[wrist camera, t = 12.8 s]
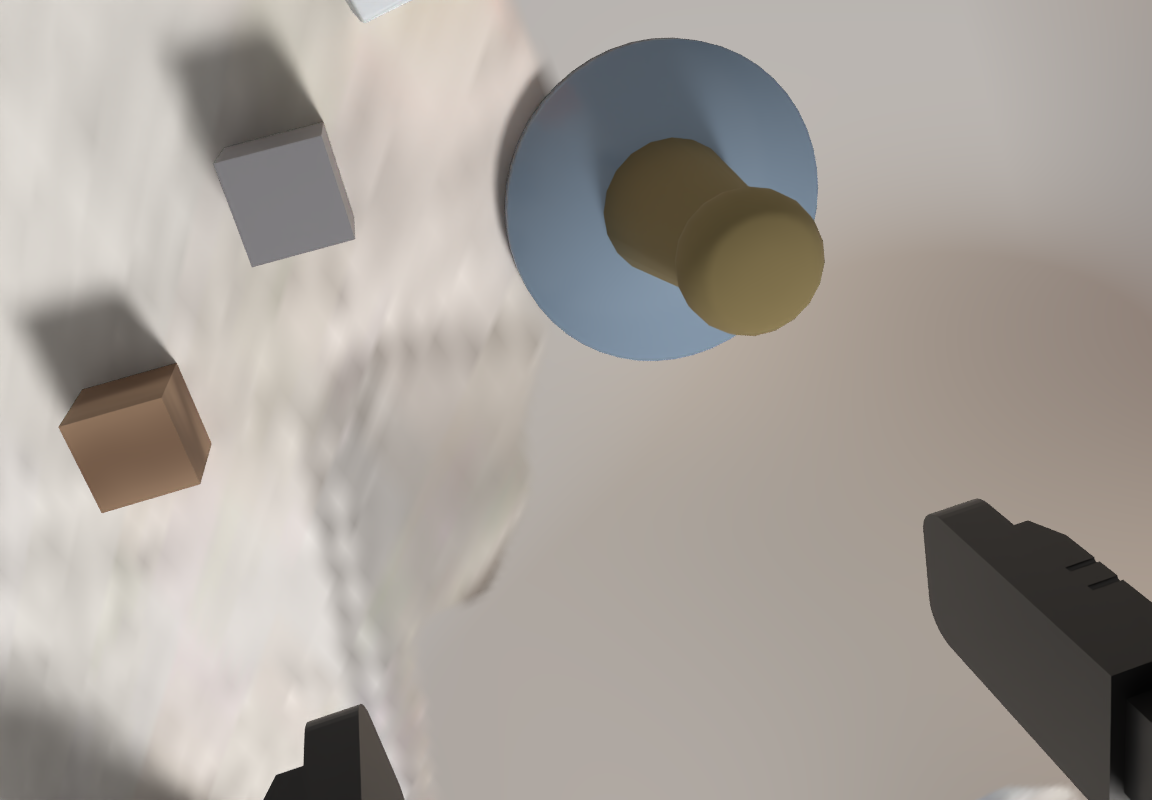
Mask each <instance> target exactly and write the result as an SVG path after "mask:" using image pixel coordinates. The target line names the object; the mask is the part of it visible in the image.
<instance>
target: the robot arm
mask: <svg viewBox="0 0 1152 800" xmlns="http://www.w3.org/2000/svg"><path fill="white" fill-rule="evenodd" d="M923 532H924V543H925V554H926V566H927V577H928V588H929V599H930V606H931V610H932V613H933V616H934V619H935V621H936V624H937V626H938V628H939V630H940V632H941V634H942V636H943V637H944V639H945V640H946V642H947V643H948V644H949V646H950V647H951V648H952V649H953V650H954V651H955V652H956V653H957V655H958V656H959V657H960V658H961V659H962V660H963V661H964V662H965V664H966V665H967V666H968V667H969V668H970V669H971V670H972V671H973V672H974V674H975V675H976V676H977V677H978V678H979V679H980V680H981V681H982V682H983V684H984V685H985V686H986V687H987V688H988V689H989V690H990V691H991V692H992V693H993V695H994V696H995V697H996V698H997V699H998V700H999V701H1000V702H1001V703H1002V705H1003V706H1004V707H1005V708H1006V709H1007V710H1008V711H1009V712H1010V714H1011V715H1012V716H1013V717H1014V718H1015V719H1016V720H1017V721H1018V722H1019V724H1020V725H1021V726H1022V727H1023V728H1024V729H1025V730H1026V731H1027V732H1028V734H1029V735H1030V736H1031V737H1032V738H1033V739H1034V740H1035V741H1036V742H1037V743H1038V745H1039V746H1040V747H1041V748H1042V749H1043V750H1044V751H1045V752H1046V754H1047V755H1048V756H1049V757H1050V758H1051V759H1052V760H1053V761H1054V762H1055V764H1056V765H1057V766H1058V767H1059V768H1060V769H1061V770H1062V771H1063V772H1064V773H1065V774H1066V776H1067V777H1068V778H1069V779H1070V780H1071V781H1072V782H1073V784H1074V785H1075V786H1076V787H1077V788H1078V789H1079V790H1080V791H1081V792H1082V794H1083V795H1084V796H1085V797H1086V798H1087V799H1088V800H1152V602H1151V601H1149V600H1148V599H1147V598H1145V597H1144V596H1143V595H1142V594H1140V593H1139V592H1138V591H1137V590H1135V589H1134V588H1133V587H1131V586H1130V585H1129V584H1128V583H1126V582H1125V581H1124V580H1122V581H1120V580H1119V579H1118V577H1117V575H1116V574H1115V573H1114V572H1112V571H1111V570H1110V569H1108V568H1107V567H1106V566H1105V565H1103V564H1102V563H1101V562H1096V561H1095V559H1094V557H1093V556H1092V555H1090V554H1089V553H1088V552H1087V551H1086V550H1084V549H1083V548H1082V547H1080V546H1079V545H1078V544H1076V543H1075V542H1074V541H1073V540H1072V539H1070V538H1069V537H1068V536H1066V535H1064V534H1061V533H1059V532H1056V531H1054V530H1051V529H1049V528H1046V527H1043V526H1041V525H1038V524H1036V523H1033V522H1030V521H1025V522H1022V523H1019V524H1016V525H1013V524H1012V523H1011V522H1010V521H1008V520H1007V519H1006V518H1005V517H1004V516H1002V515H1001V514H1000V513H999V512H997V511H996V510H995V509H994V508H992V506H990V505H989V504H988V503H986V502H985V501H983V500H981V499H974V500H971V501H967V502H965V503H962V504H959V505H956V506H953V507H950V508H947V509H944V510H941V511H938V512H935V513H932V514H929V515H927V516H926V518H925V519H924V525H923ZM264 800H404V797H403V794H402V791H401V788H400V785H399V783H398V780H397V778H396V776H395V773H394V771H393V769H392V766H391V764H390V762H389V759H388V757H387V755H386V752H385V750H384V748H383V746H382V743H381V741H380V739H379V736H378V734H377V732H376V729H375V727H374V725H373V722H372V720H371V718H370V716H369V713H368V711H367V710H366V708H365V707H364V705H362V704H360V705H357V706H354V707H351V708H348V709H345V710H342V711H339V712H336V713H333V714H330V715H327V716H324V717H321V718H318V719H315V720H312V721H309V722H307V724H306V727H305V739H304V766H302V767H299V768H296V769H293V770H290V771H287V772H284V773H281V774H278V775H276V776H275V778H274V780H273V782H272V784H271V786H270V788H269V790H268V792H267V794H266V796H265V798H264Z"/></svg>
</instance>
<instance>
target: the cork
mask: <svg viewBox="0 0 1152 800" xmlns="http://www.w3.org/2000/svg"><path fill="white" fill-rule="evenodd" d="M604 219H605V225H606V230H607V235H608V237H609V239H610V241H611V242H612V244H613V246H614V248H615V250H616V252H617V253H618V254H619V255H620V256H621V257H622V258H623V259H624V260H626V261H627V262H628V263H629V264H630V265H631V266H632V267H634V268H637V269H639V270H641V271H643V272H646V273H648V274H650V275H652V276H655V277H657V278H659V279H661V280H664V281H666V282H668V283H670V284H673V285H675V286H677V287H679V289H680V291H681V293H682V295H683V297H684V299H685V301H686V302H687V304H688V306H689V307H690V308H691V309H692V310H693V311H694V312H695V313H696V314H697V315H698V316H699V317H700V318H701V319H702V320H703V321H704V322H706V323H707V324H708V325H709V326H711V327H714V328H716V329H719V330H721V331H723V332H726V333H729V334H733V335H747V336H748V335H749V336H756V335H760V334H764V333H768V332H772V331H775V330H777V329H779V328H780V327H782V326H784V325H785V324H787V323H789V322H790V321H792V320H793V319H795V318H796V316H798V314H800V313H801V311H802V310H803V309H804V308H805V307H806V306H807V305H808V304H809V303H810V301H811V299H812V297H813V295H814V293H815V292H816V290H817V288H818V286H819V284H820V281H821V276H822V272H823V267H824V263H825V261H824V249H823V240H822V238H821V236H820V233H819V231H818V228H817V226H816V224H815V222H814V220H813V219H812V217H811V216H810V215H809V214H808V212H807V211H806V210H805V209H804V208H803V207H802V206H801V205H800V204H799V203H798V202H797V201H796V200H794V199H792V198H790V197H787V196H785V195H783V194H781V193H779V192H777V191H775V190H773V189H770V188H759V187H749V186H748V185H747V184H746V183H745V182H744V181H743V180H742V179H741V178H740V177H739V176H738V175H737V174H736V173H735V172H734V171H733V170H732V169H731V168H730V167H729V166H728V165H727V164H726V163H725V162H724V161H723V160H722V159H721V158H720V157H719V156H718V155H717V154H716V153H715V152H714V151H713V150H712V149H711V148H709V147H707V146H705V145H703V144H701V143H699V142H697V141H695V140H692V139H683V138H673V137H671V138H667V139H662V140H658V141H654V142H650V143H648V144H647V145H645V146H643V147H642V148H640V149H638V150H637V151H635V152H633V153H632V154H631V155H630V156H629V157H628V158H627V159H626V160H625V161H624V163H623V164H622V165H621V166H620V167H619V168H618V169H617V170H616V172H615V174H614V176H613V179H612V181H611V183H610V185H609V187H608V189H607V192H606V199H605V207H604Z"/></svg>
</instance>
